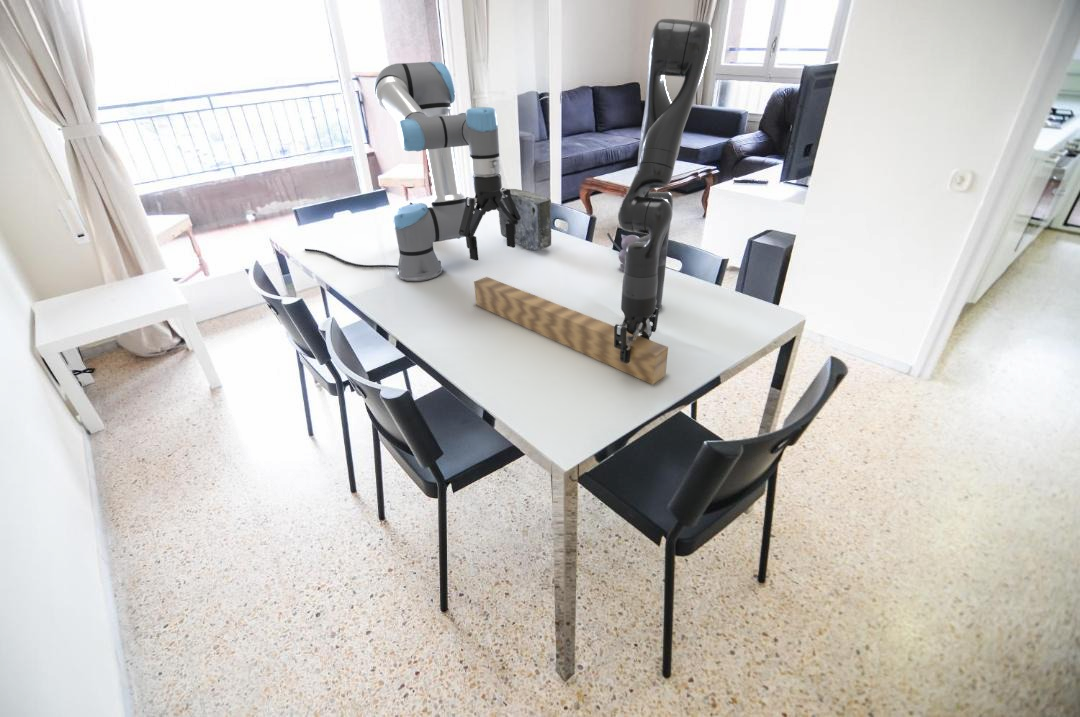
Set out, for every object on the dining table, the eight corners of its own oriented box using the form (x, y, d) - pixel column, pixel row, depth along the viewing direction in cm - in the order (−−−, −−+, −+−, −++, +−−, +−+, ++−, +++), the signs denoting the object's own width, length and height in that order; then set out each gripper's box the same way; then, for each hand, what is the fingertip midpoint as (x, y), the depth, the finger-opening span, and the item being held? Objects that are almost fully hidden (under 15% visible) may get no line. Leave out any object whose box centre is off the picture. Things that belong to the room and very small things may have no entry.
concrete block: (556, 252, 190) (555, 199, 179) (537, 257, 186) (535, 203, 175) (517, 236, 209) (515, 187, 198) (500, 240, 204) (496, 190, 194)
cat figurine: (646, 268, 173) (649, 234, 166) (634, 275, 168) (636, 240, 161) (626, 263, 178) (628, 230, 171) (613, 269, 173) (614, 236, 167)
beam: (476, 305, 152) (473, 281, 148) (488, 300, 155) (486, 276, 151) (653, 385, 113) (656, 355, 109) (665, 376, 116) (668, 347, 112)
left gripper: (456, 184, 119) (466, 268, 130) (530, 167, 134) (534, 244, 145) (438, 180, 124) (449, 261, 135) (512, 164, 139) (516, 239, 150)
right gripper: (633, 306, 102) (629, 374, 110) (672, 285, 110) (665, 349, 119) (605, 296, 106) (602, 362, 115) (644, 277, 115) (639, 339, 124)
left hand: (493, 252), depth 140 cm, fingers open, 13 cm apart
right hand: (634, 355), depth 117 cm, fingers open, 7 cm apart
